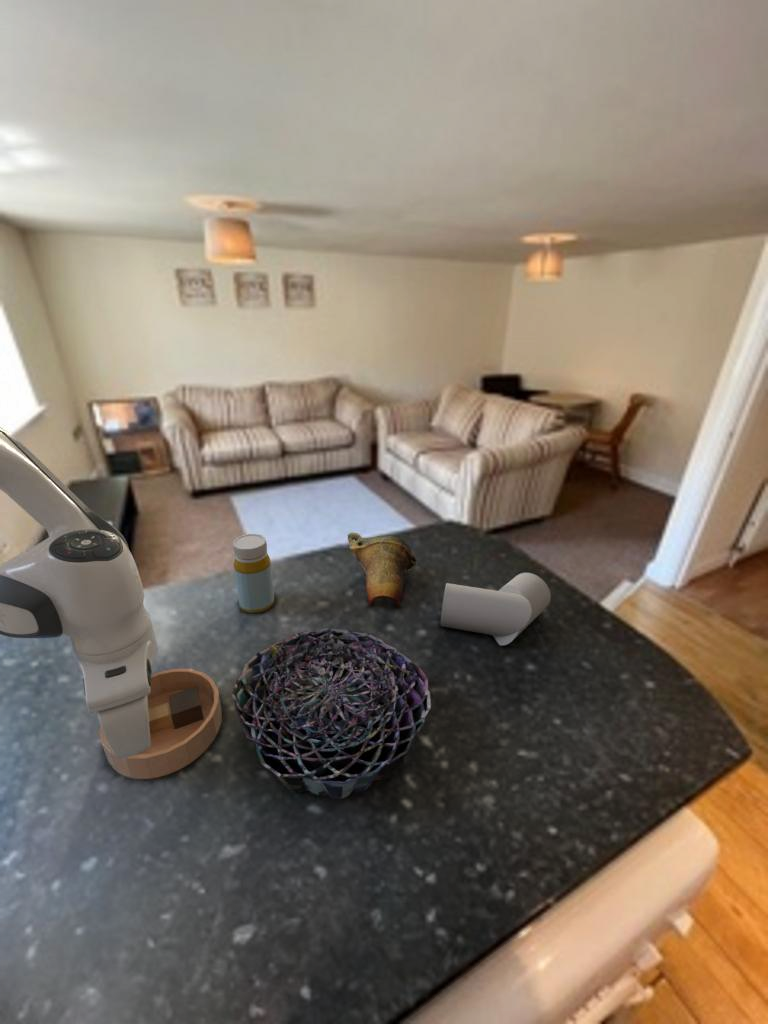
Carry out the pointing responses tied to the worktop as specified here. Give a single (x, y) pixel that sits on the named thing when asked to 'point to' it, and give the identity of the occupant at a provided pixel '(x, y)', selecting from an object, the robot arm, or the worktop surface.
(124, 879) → the worktop surface
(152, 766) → the wash bowl
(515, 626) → the bent grey cylinder
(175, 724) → the brush
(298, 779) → the decorative bowl
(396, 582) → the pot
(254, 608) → the bottle
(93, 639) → the robot arm
